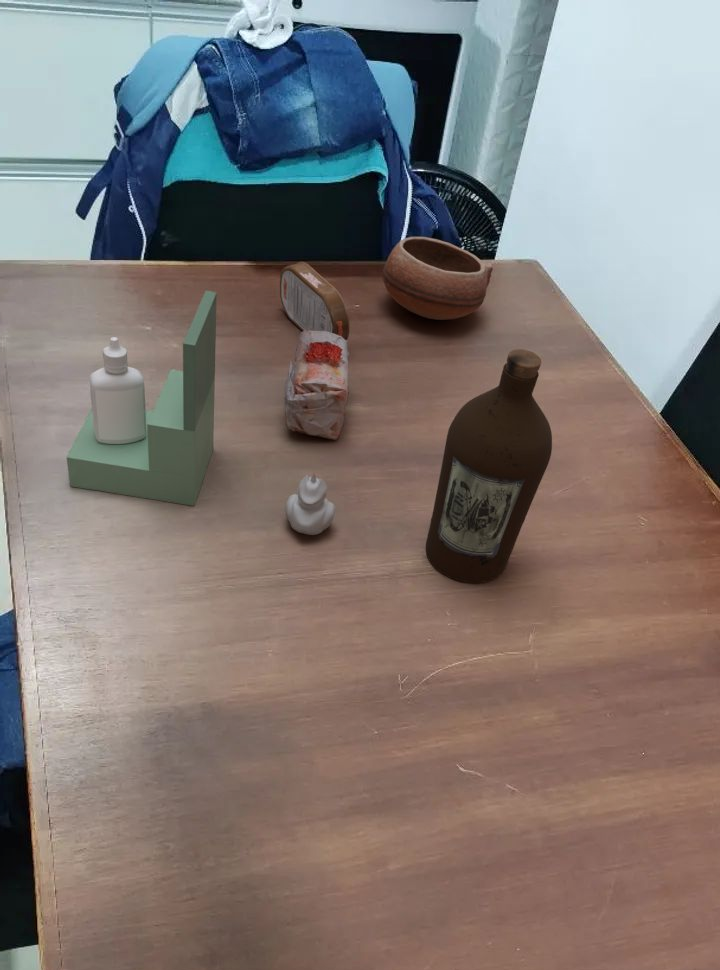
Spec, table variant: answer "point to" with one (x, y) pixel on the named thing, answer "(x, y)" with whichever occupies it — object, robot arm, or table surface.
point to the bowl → (436, 278)
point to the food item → (318, 385)
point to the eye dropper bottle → (117, 399)
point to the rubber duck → (310, 507)
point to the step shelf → (161, 430)
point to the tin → (312, 301)
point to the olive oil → (490, 475)
